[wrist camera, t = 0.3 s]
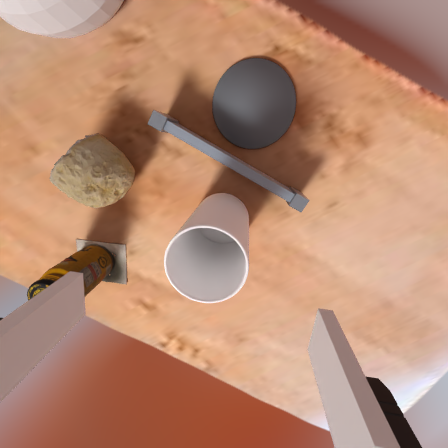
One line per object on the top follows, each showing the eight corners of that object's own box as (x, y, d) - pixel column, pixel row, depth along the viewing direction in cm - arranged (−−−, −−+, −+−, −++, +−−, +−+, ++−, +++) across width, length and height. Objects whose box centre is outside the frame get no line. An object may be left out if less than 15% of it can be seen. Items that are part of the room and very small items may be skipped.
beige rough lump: (67, 102, 30) (107, 165, 28) (124, 136, 40) (157, 185, 38) (16, 156, 32) (49, 219, 30) (82, 176, 42) (111, 225, 39)
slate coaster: (198, 123, 36) (198, 123, 36) (238, 41, 33) (238, 40, 32) (266, 163, 37) (267, 163, 36) (312, 87, 33) (313, 86, 33)
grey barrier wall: (162, 126, 37) (147, 124, 31) (167, 114, 36) (153, 109, 31) (293, 202, 38) (301, 212, 33) (300, 192, 38) (309, 200, 32)
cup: (253, 197, 38) (255, 232, 23) (244, 247, 41) (241, 309, 26) (198, 189, 39) (166, 218, 24) (193, 239, 41) (161, 296, 26)
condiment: (76, 238, 43) (15, 273, 32) (125, 244, 43) (81, 281, 31) (80, 277, 46) (24, 322, 34) (127, 283, 45) (86, 331, 34)
